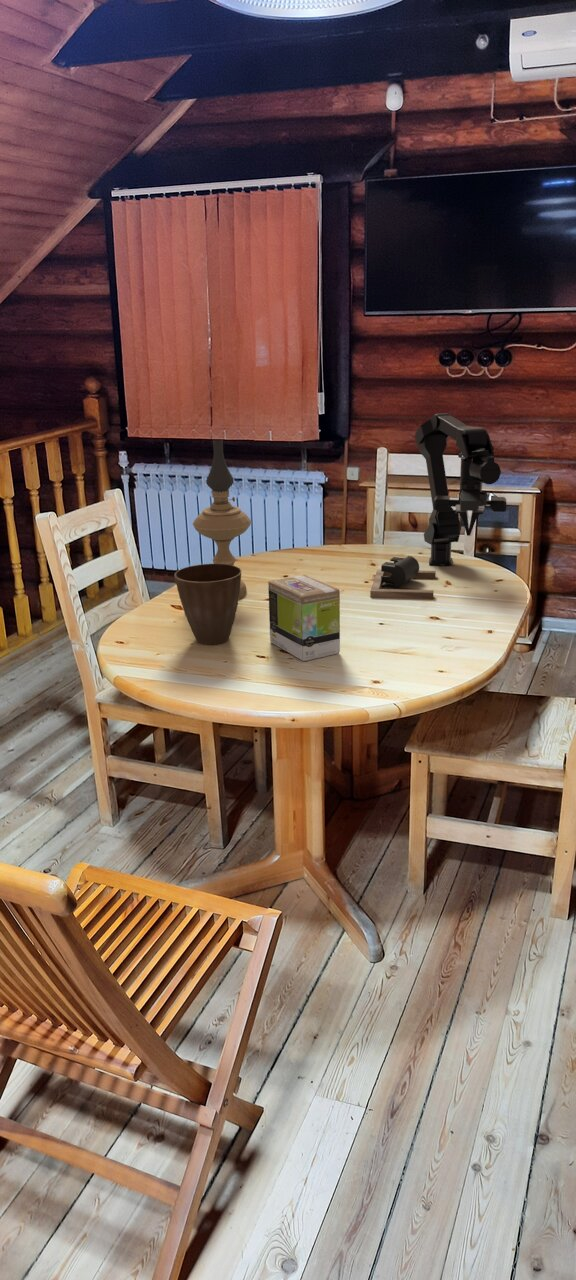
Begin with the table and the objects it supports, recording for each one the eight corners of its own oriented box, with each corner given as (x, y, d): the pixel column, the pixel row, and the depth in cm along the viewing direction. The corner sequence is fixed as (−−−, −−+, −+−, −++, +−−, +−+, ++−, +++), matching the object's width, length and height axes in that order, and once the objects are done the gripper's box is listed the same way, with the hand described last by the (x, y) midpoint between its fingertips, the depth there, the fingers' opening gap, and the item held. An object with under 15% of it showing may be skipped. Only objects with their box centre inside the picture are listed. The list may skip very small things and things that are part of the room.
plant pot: (172, 650, 210) (166, 581, 204) (187, 627, 223) (183, 562, 218) (237, 651, 208) (234, 582, 202) (249, 629, 221) (246, 563, 216)
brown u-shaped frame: (377, 575, 260) (377, 569, 260) (435, 576, 258) (435, 570, 257) (370, 597, 242) (370, 591, 241) (433, 598, 239) (433, 592, 239)
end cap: (405, 590, 246) (405, 566, 244) (380, 587, 250) (380, 563, 247) (419, 580, 255) (419, 556, 252) (395, 577, 258) (395, 553, 256)
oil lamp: (264, 595, 245) (259, 440, 231) (214, 606, 238) (205, 447, 224) (236, 582, 257) (229, 434, 244) (187, 592, 250) (177, 440, 236)
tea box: (341, 653, 205) (341, 588, 200) (302, 663, 200) (300, 596, 195) (306, 634, 217) (305, 572, 212) (268, 642, 213) (266, 579, 208)
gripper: (433, 482, 240) (431, 542, 246) (508, 484, 237) (504, 544, 242) (435, 474, 251) (434, 531, 256) (507, 475, 247) (504, 533, 252)
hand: (468, 535), depth 252 cm, fingers closed
